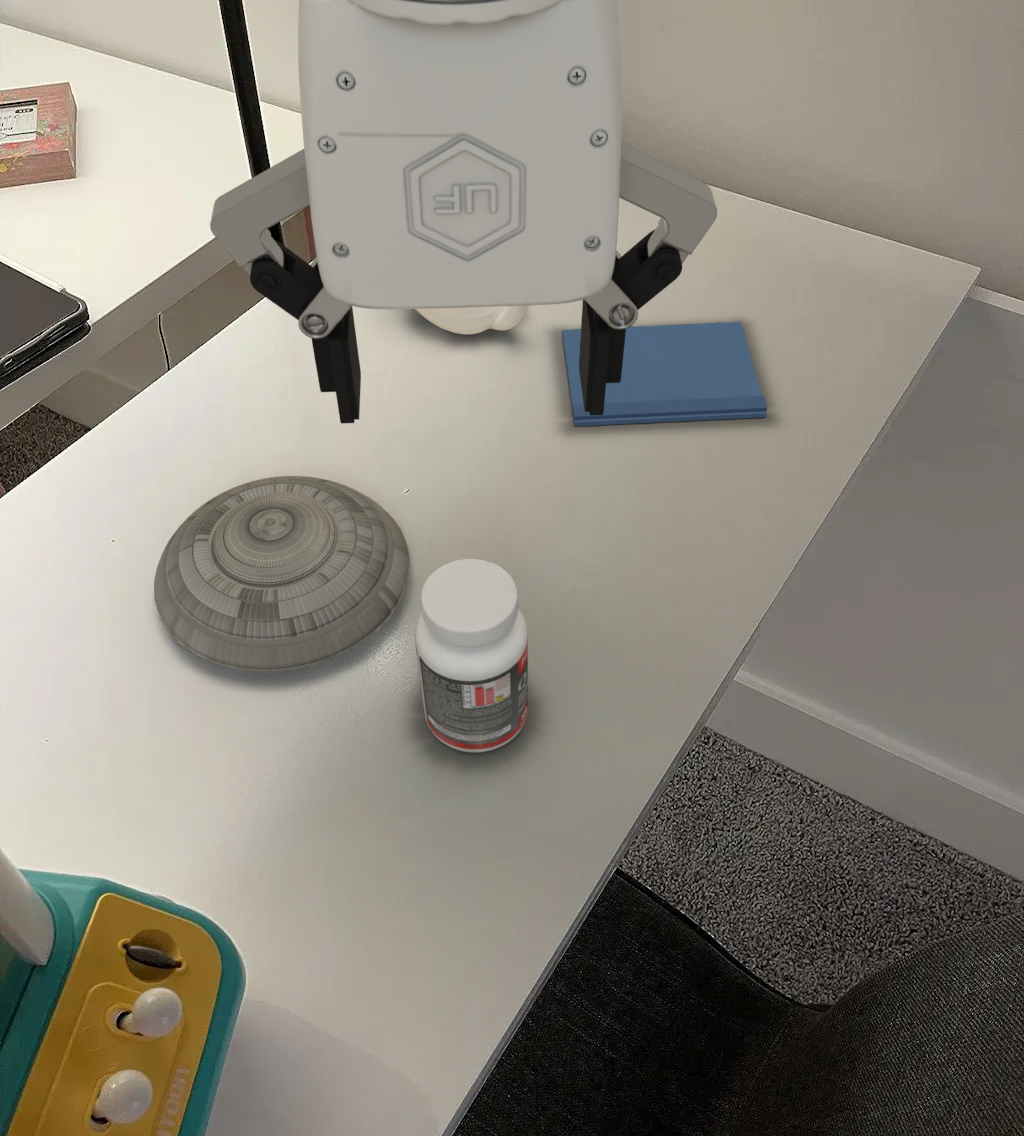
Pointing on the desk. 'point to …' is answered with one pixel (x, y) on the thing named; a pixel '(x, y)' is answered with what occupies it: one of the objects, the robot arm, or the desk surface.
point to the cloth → (674, 376)
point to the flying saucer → (281, 574)
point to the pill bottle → (472, 656)
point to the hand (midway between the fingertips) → (471, 396)
